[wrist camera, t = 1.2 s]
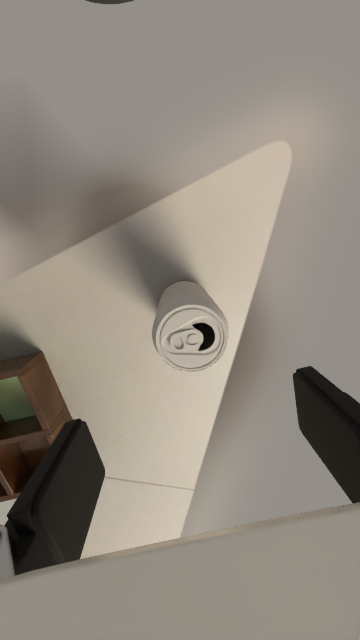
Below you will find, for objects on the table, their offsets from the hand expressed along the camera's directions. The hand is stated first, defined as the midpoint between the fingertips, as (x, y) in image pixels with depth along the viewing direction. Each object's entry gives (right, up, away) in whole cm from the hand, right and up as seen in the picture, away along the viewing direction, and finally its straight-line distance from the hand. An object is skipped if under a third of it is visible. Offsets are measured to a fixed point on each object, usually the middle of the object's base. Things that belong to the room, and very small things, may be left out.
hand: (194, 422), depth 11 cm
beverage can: (0, +6, +20) cm, 21 cm away
